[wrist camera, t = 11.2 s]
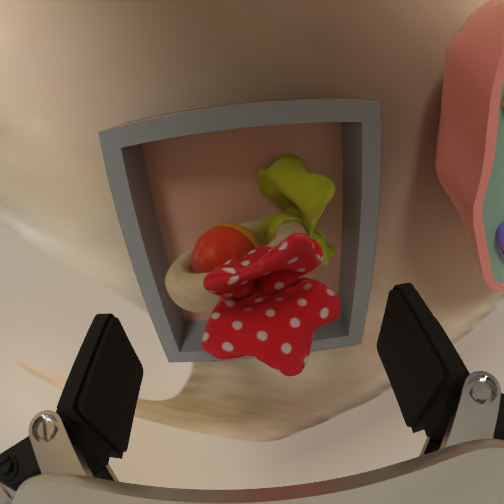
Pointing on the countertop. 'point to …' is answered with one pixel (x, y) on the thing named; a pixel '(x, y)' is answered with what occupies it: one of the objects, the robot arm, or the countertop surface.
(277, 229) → the bird rattle
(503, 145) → the cell model
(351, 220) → the grey picture frame
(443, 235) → the countertop surface
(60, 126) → the countertop surface
